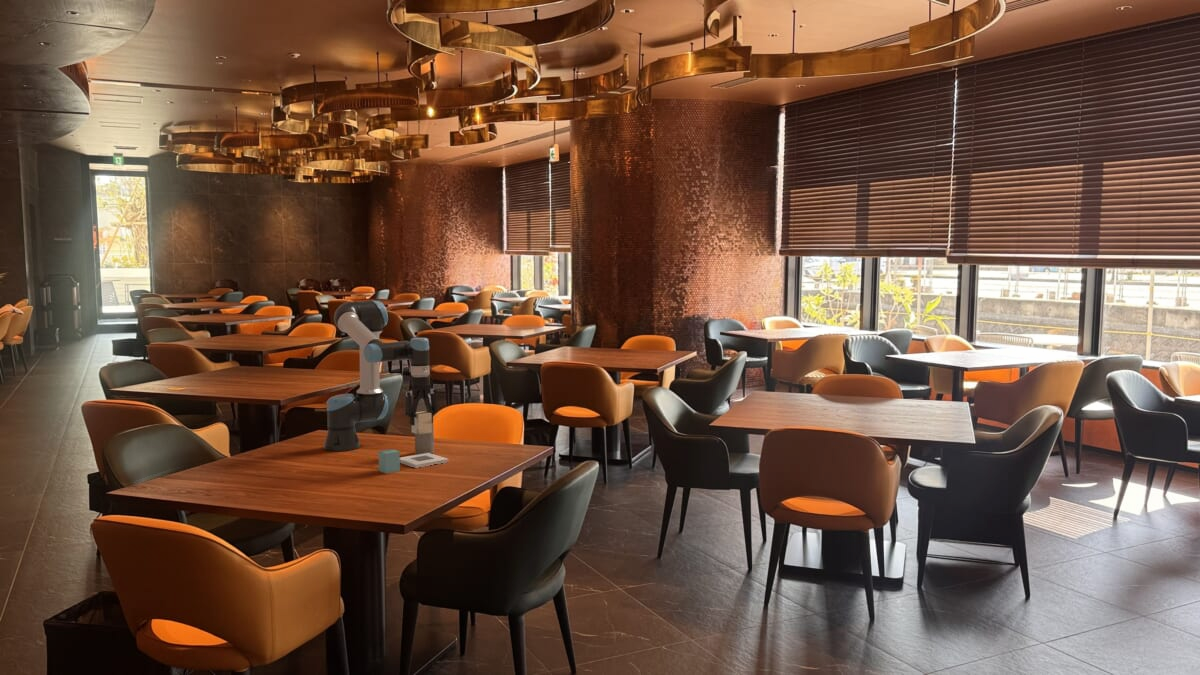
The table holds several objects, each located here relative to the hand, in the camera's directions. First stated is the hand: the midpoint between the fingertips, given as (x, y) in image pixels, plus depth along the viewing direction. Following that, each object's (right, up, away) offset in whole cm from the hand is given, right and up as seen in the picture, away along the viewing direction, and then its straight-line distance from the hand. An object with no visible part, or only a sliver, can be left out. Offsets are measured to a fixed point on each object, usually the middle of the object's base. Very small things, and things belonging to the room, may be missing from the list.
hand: (421, 431), depth 368 cm
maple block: (0, 0, 0) cm, 0 cm away
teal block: (-10, -14, -14) cm, 22 cm away
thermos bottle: (-3, -11, +19) cm, 22 cm away
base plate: (0, -13, +1) cm, 13 cm away
